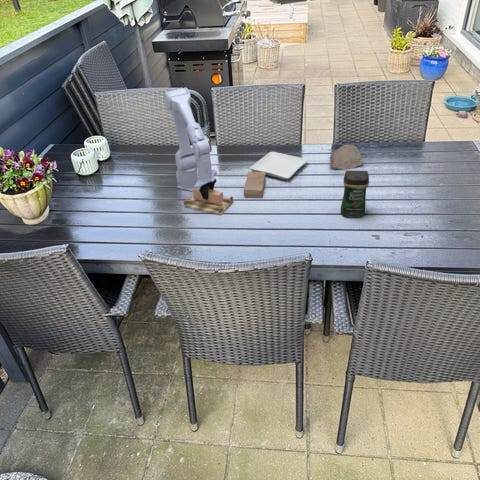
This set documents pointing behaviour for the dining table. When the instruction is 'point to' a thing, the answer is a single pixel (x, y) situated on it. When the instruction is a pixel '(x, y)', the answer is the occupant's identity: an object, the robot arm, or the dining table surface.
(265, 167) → the salad plate
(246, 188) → the brick
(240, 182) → the dining table surface
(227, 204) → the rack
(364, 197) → the coffee jar
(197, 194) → the clay strip
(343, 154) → the pumice stone
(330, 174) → the dining table surface
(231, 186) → the dining table surface
